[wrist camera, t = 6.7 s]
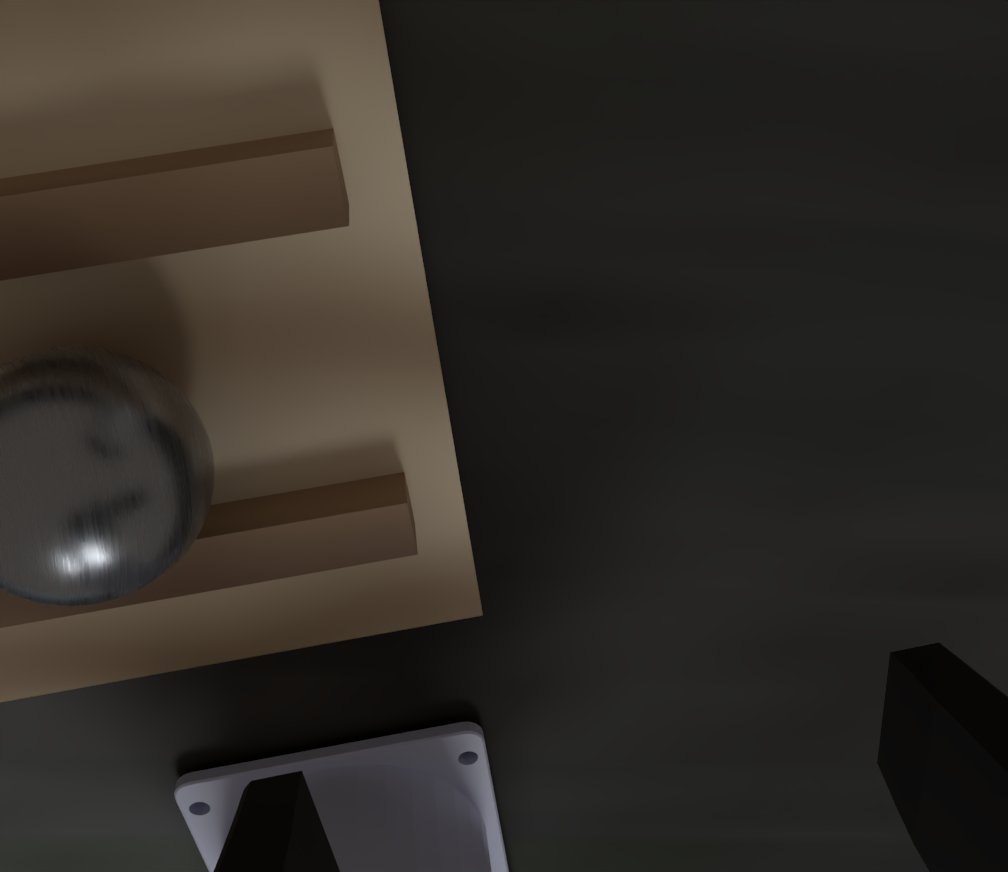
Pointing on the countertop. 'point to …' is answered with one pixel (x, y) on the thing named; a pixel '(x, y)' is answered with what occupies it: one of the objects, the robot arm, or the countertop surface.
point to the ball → (96, 476)
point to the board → (235, 317)
